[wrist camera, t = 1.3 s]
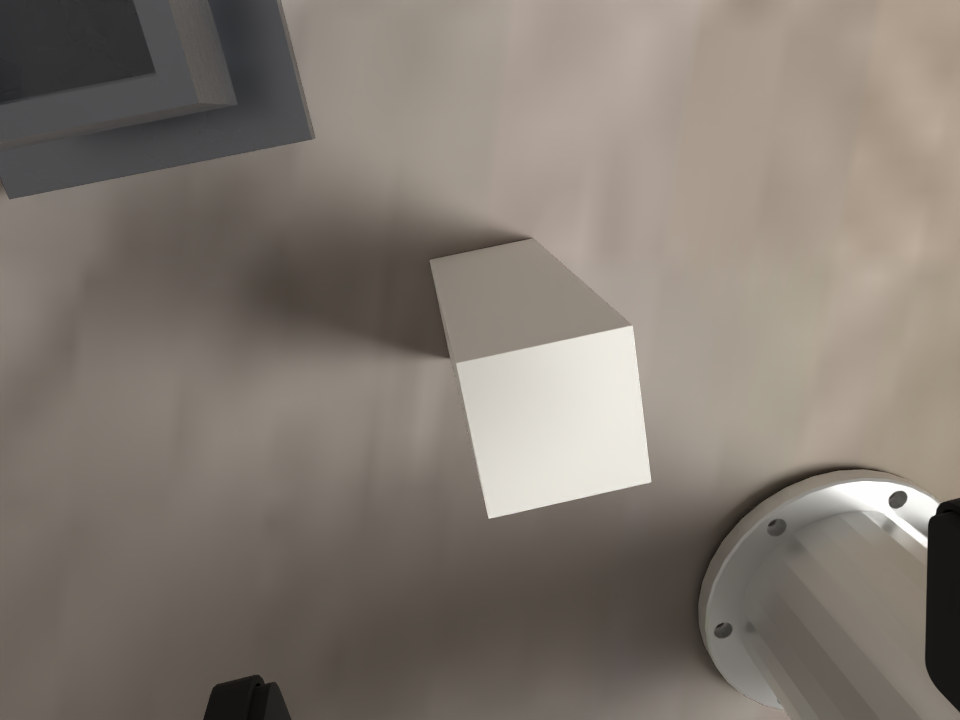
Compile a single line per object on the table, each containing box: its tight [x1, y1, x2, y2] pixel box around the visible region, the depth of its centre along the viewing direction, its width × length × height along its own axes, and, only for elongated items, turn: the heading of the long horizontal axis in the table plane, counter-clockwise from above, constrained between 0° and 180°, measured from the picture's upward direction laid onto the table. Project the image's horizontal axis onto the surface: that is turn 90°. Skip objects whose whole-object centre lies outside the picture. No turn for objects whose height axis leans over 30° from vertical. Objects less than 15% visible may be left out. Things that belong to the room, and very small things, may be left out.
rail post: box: [429, 238, 651, 519], centre depth 22 cm, size 4×4×12 cm
